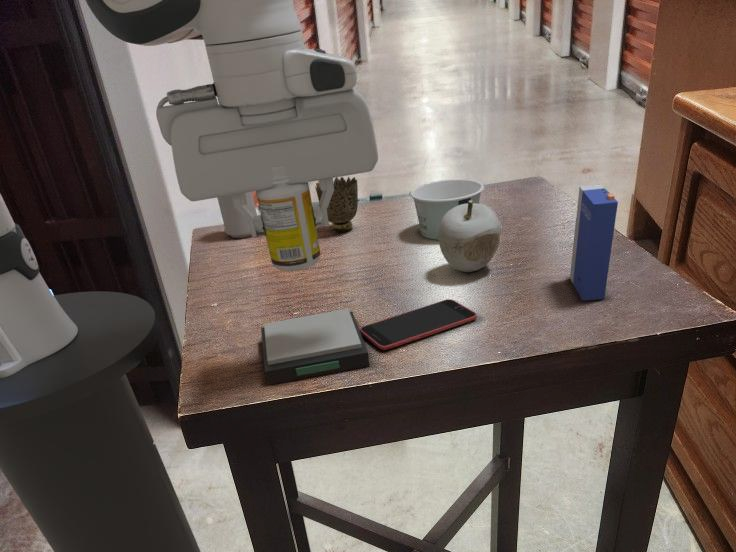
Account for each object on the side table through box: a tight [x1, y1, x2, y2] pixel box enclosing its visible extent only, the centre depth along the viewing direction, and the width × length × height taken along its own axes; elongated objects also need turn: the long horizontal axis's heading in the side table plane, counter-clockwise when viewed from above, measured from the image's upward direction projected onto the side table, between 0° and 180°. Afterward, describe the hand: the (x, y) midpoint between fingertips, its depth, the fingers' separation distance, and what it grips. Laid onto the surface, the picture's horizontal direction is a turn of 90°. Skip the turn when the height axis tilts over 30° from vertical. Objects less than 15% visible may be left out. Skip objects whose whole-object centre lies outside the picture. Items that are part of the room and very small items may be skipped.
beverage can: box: [216, 192, 258, 239], centre depth 112 cm, size 6×6×12 cm
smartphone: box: [359, 298, 478, 351], centre depth 77 cm, size 7×1×14 cm
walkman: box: [569, 184, 619, 302], centre depth 77 cm, size 8×3×12 cm, turn 178°
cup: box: [314, 176, 359, 233], centre depth 108 cm, size 8×7×8 cm
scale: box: [260, 308, 371, 386], centre depth 75 cm, size 12×12×2 cm
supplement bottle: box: [255, 166, 322, 272], centre depth 65 cm, size 6×6×10 cm
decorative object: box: [438, 200, 502, 273], centre depth 87 cm, size 9×9×10 cm
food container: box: [410, 178, 485, 241], centre depth 102 cm, size 12×12×6 cm
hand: (290, 230), depth 66 cm, fingers closed on supplement bottle, 5 cm apart
